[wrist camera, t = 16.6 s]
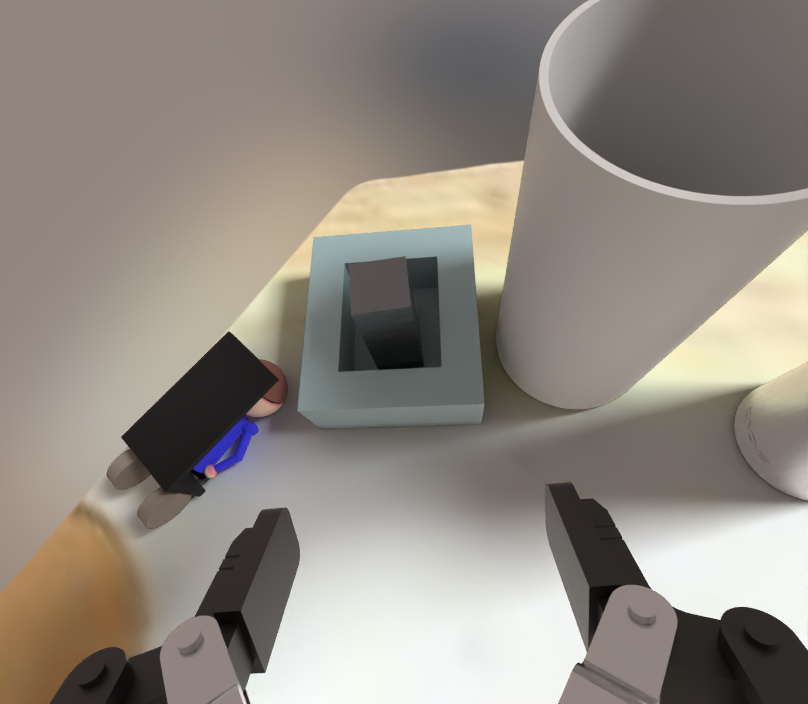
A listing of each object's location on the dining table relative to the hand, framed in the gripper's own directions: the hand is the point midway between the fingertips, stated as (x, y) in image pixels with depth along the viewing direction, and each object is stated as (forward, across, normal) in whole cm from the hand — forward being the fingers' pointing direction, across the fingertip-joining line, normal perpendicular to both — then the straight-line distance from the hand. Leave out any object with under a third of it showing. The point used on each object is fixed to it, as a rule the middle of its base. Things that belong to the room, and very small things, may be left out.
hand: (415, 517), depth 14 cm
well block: (+28, +2, +4) cm, 28 cm away
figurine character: (+23, +19, +10) cm, 31 cm away
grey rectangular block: (+26, +2, +5) cm, 27 cm away
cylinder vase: (+26, -12, +6) cm, 30 cm away
